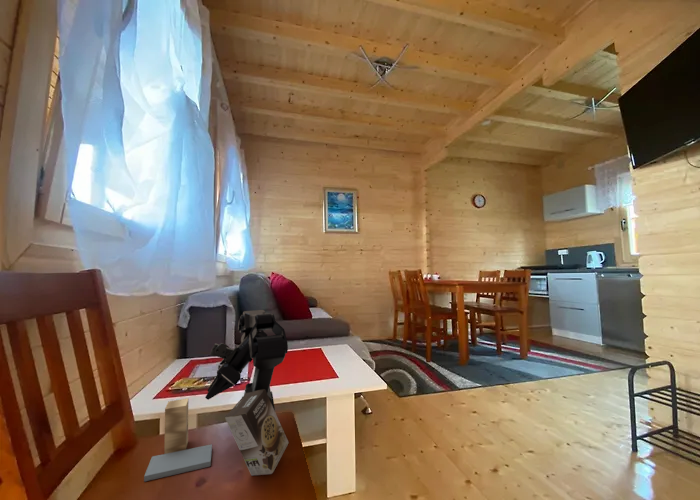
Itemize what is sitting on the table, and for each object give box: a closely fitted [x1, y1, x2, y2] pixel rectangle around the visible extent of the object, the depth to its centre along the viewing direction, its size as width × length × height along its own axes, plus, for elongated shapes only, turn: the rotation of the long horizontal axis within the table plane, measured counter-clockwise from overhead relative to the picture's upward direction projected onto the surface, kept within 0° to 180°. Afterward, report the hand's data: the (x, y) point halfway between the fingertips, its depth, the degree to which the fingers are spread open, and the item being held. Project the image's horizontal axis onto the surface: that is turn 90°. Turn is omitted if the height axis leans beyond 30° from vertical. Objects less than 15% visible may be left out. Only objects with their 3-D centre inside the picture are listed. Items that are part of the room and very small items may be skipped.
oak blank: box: [164, 398, 189, 454], centre depth 85 cm, size 5×5×12 cm
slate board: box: [143, 443, 213, 483], centre depth 78 cm, size 14×8×1 cm, turn 111°
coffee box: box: [224, 389, 290, 477], centre depth 76 cm, size 9×6×16 cm
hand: (207, 395), depth 88 cm, fingers open, 9 cm apart
